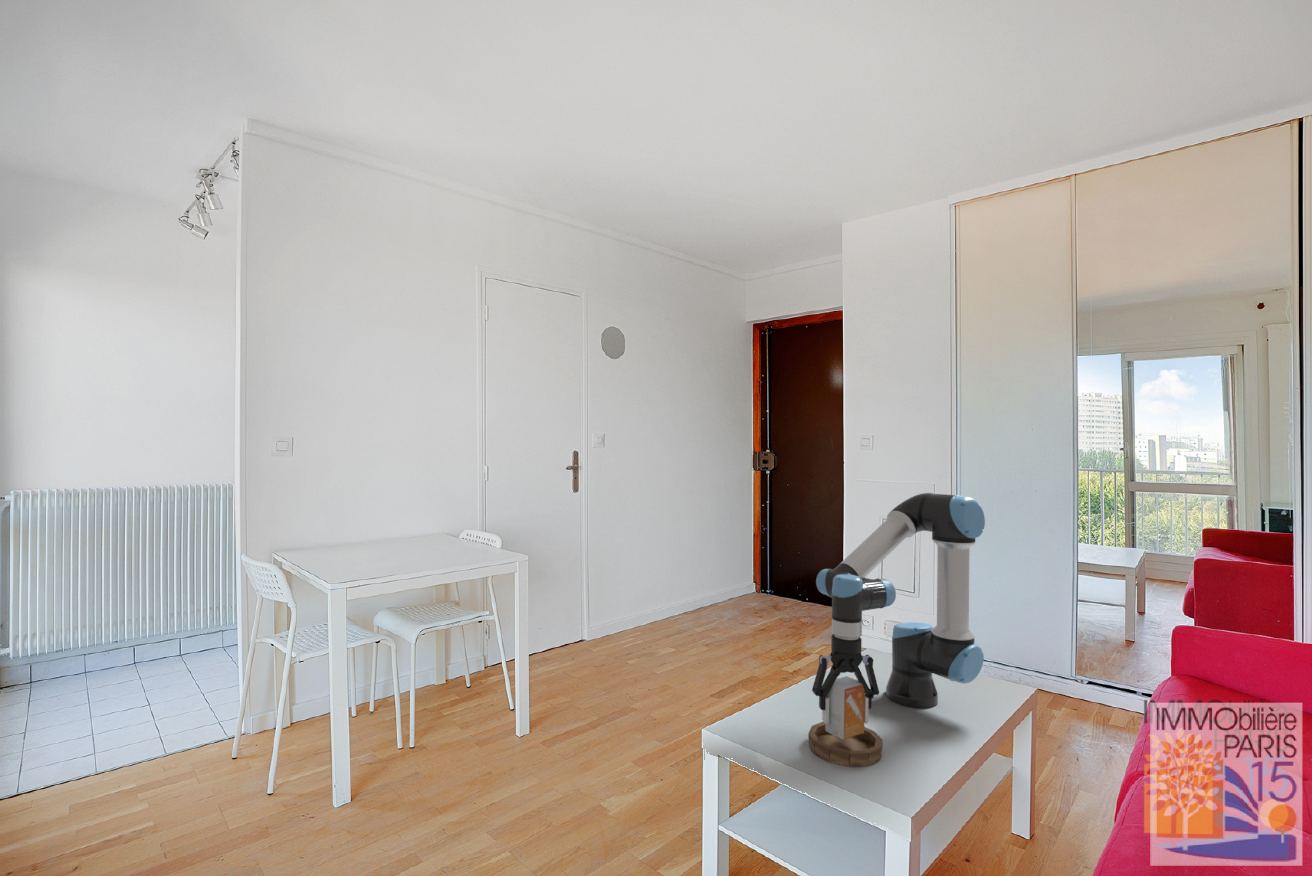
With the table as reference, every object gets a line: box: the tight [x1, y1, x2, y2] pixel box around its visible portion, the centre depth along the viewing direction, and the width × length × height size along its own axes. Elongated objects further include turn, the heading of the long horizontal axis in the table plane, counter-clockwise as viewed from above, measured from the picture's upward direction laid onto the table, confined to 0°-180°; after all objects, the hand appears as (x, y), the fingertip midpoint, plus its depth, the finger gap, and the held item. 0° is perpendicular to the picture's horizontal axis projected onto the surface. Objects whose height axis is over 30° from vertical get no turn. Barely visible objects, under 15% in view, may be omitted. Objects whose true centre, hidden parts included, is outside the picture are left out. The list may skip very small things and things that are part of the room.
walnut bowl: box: [807, 721, 884, 768], centre depth 164 cm, size 18×18×3 cm
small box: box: [825, 675, 865, 740], centre depth 164 cm, size 8×6×13 cm
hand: (845, 721), depth 164 cm, fingers closed on small box, 10 cm apart
